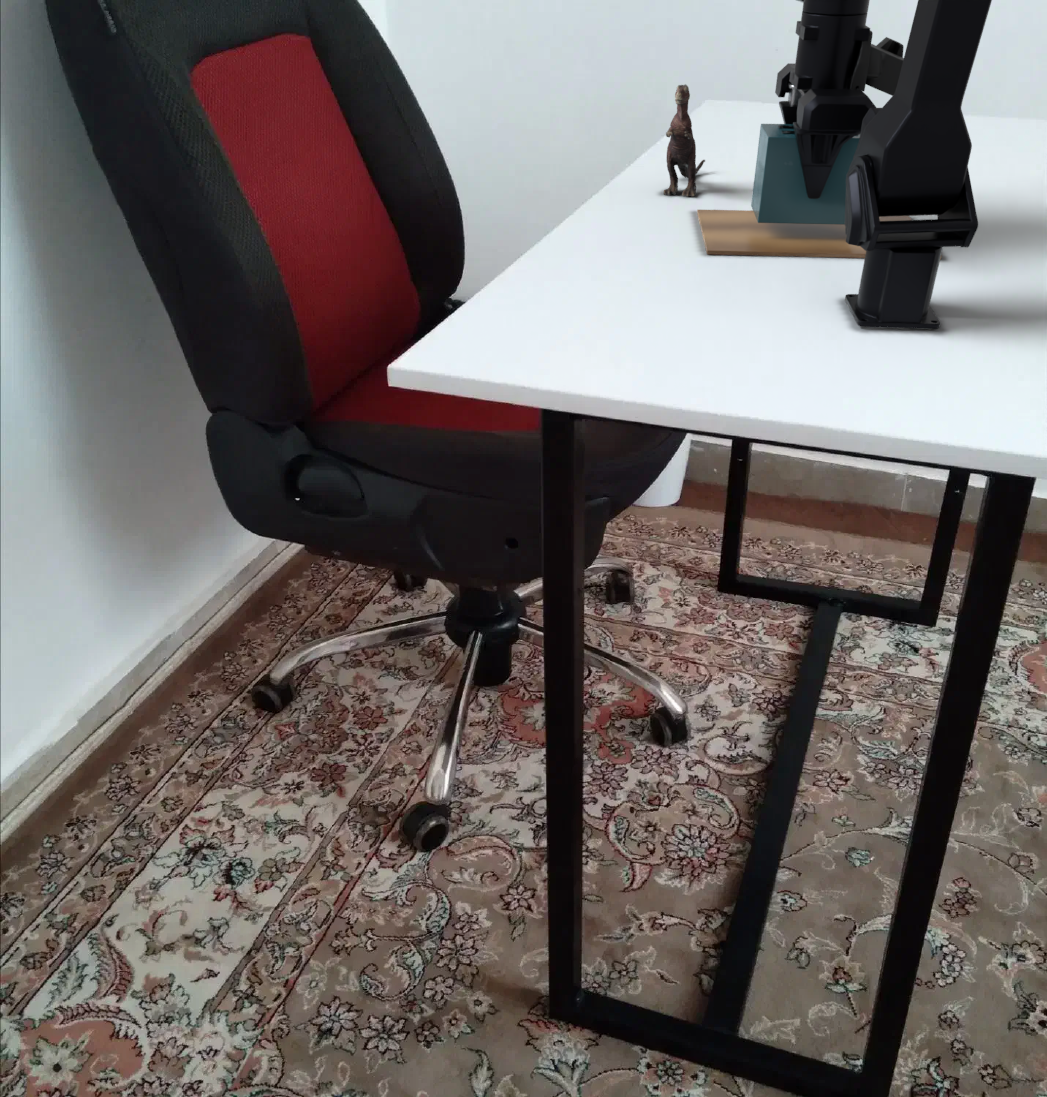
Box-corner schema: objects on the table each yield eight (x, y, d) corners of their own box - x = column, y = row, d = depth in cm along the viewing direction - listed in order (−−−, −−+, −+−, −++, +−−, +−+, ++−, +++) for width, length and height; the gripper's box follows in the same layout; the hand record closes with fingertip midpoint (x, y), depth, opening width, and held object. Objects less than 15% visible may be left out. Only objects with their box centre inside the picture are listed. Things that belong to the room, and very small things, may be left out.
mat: (941, 259, 98) (941, 255, 97) (706, 254, 99) (707, 250, 99) (906, 217, 109) (906, 213, 109) (696, 213, 111) (697, 209, 110)
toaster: (757, 222, 101) (768, 135, 96) (751, 206, 106) (760, 122, 101) (874, 225, 100) (890, 137, 96) (861, 208, 105) (876, 124, 101)
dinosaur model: (668, 84, 108) (691, 70, 120) (653, 200, 114) (677, 175, 126) (706, 88, 107) (725, 74, 119) (689, 204, 113) (709, 179, 125)
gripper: (954, 26, 85) (914, 218, 93) (901, 1, 100) (871, 168, 109) (816, 24, 85) (790, 215, 94) (785, 0, 101) (765, 166, 110)
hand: (808, 189), depth 102 cm, fingers closed on toaster, 6 cm apart
